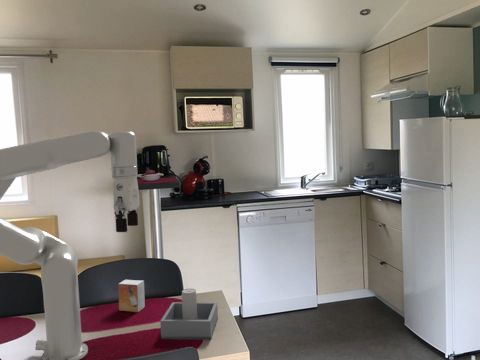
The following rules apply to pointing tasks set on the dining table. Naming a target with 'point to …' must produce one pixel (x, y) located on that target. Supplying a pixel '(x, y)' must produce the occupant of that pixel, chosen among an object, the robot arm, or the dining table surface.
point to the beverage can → (189, 304)
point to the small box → (131, 295)
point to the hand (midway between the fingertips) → (127, 228)
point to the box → (189, 322)
